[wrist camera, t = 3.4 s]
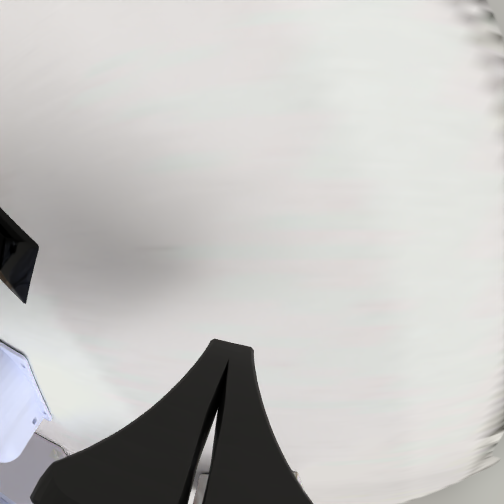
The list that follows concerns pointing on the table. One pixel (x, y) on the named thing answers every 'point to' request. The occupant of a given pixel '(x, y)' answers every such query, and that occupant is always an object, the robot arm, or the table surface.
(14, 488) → the game console
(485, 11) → the table surface
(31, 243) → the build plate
